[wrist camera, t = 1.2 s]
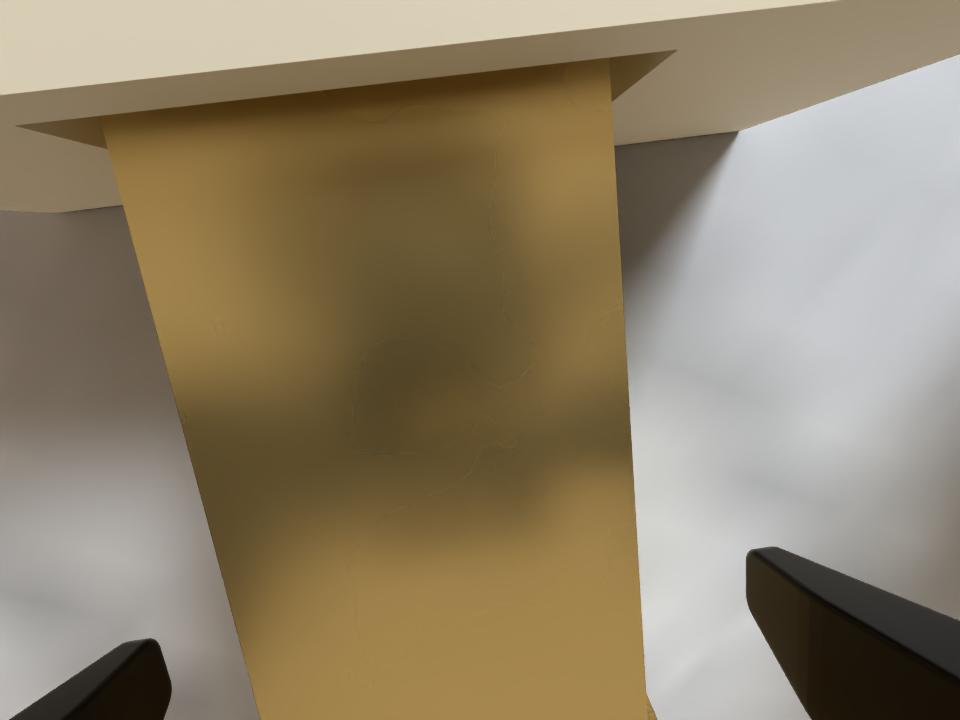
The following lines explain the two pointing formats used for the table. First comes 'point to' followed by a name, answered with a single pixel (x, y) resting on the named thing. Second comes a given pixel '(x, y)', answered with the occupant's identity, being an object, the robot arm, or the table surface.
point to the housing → (426, 63)
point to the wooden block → (404, 387)
